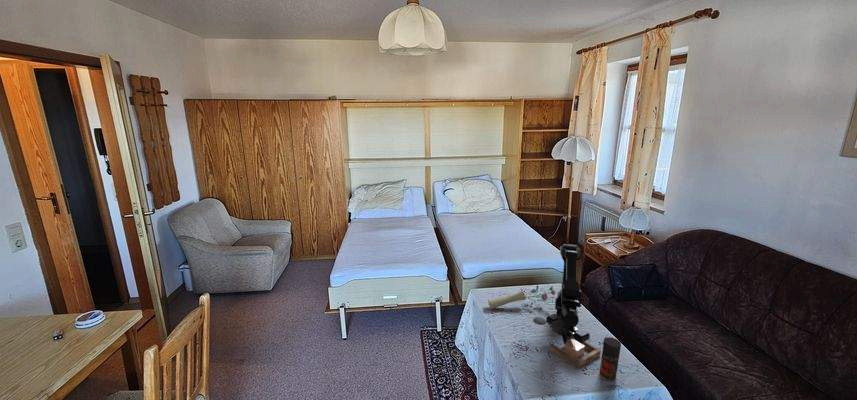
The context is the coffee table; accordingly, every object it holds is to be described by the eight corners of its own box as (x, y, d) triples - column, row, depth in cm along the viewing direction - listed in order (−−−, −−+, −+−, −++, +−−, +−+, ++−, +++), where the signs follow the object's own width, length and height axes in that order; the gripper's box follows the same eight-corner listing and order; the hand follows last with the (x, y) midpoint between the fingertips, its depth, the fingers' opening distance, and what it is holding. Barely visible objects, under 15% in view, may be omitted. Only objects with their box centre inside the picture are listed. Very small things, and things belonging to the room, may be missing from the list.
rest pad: (539, 316, 182) (539, 315, 182) (548, 322, 177) (548, 321, 177) (530, 319, 179) (530, 319, 179) (540, 325, 174) (540, 325, 174)
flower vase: (491, 317, 195) (551, 300, 197) (496, 324, 182) (561, 305, 185) (485, 296, 195) (546, 279, 198) (490, 301, 183) (555, 283, 185)
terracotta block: (572, 346, 160) (572, 338, 159) (584, 353, 155) (585, 345, 154) (563, 351, 156) (564, 343, 155) (576, 359, 151) (577, 351, 150)
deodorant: (596, 369, 145) (600, 337, 141) (610, 369, 145) (615, 336, 142) (604, 380, 139) (609, 347, 136) (619, 379, 140) (624, 346, 136)
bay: (572, 338, 165) (572, 333, 164) (600, 355, 153) (600, 350, 153) (550, 349, 157) (550, 344, 157) (577, 368, 146) (578, 363, 145)
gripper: (539, 308, 159) (536, 338, 163) (575, 329, 144) (571, 362, 148) (555, 301, 165) (552, 331, 169) (592, 321, 149) (588, 353, 153)
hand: (565, 344), depth 159 cm, fingers closed
